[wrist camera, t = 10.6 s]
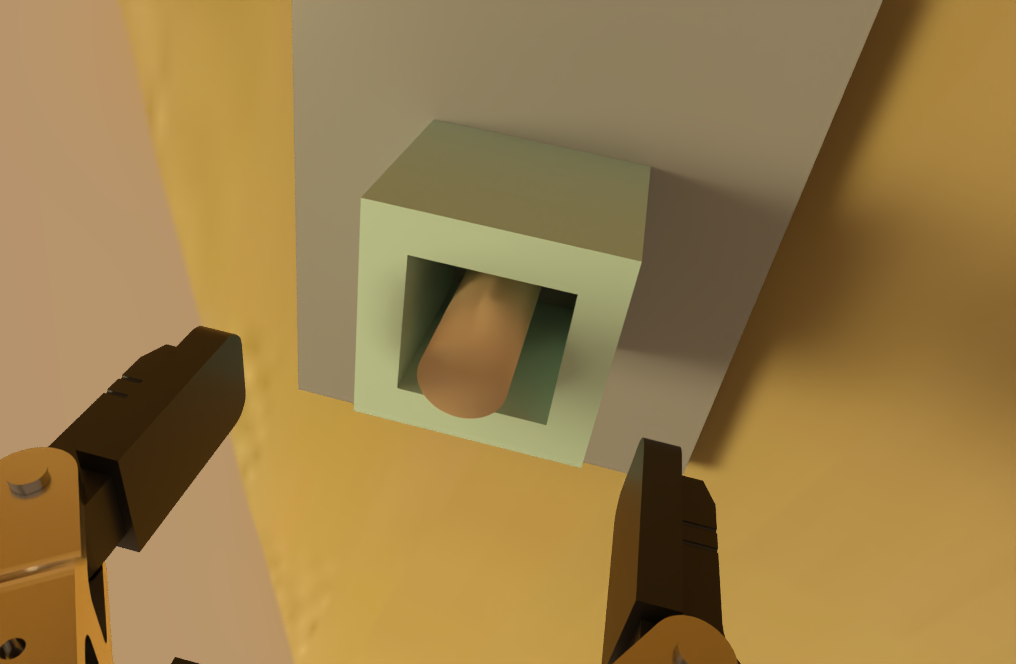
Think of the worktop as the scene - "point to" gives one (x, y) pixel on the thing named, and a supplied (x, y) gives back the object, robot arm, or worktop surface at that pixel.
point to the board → (584, 127)
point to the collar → (506, 253)
